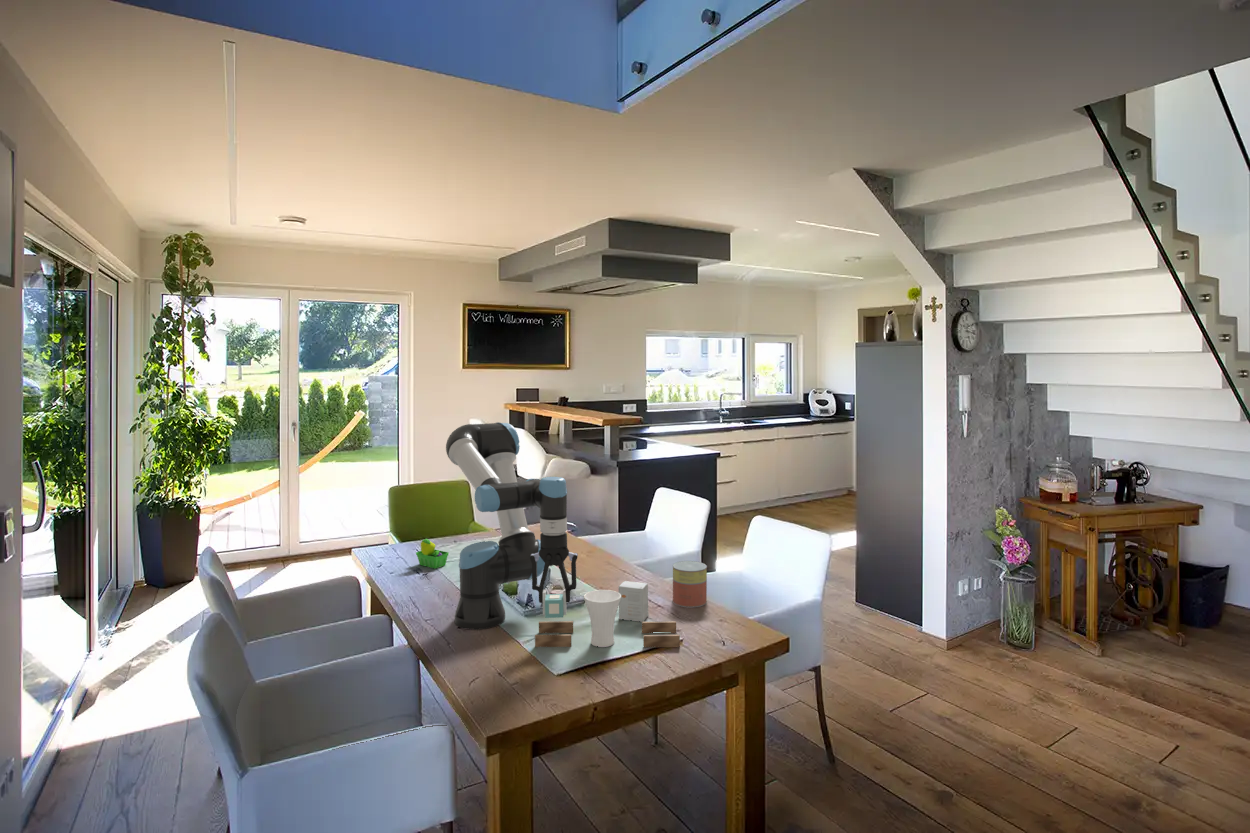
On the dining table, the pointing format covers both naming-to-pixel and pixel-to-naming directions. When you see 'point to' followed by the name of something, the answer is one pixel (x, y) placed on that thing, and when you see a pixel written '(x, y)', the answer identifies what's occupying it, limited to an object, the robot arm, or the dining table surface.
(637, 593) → the small box
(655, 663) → the dining table surface
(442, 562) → the fruit basket
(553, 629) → the caddy left
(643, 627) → the caddy right
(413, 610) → the dining table surface
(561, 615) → the letter cube
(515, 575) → the robot arm
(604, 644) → the cup
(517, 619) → the dining table surface
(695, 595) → the canned food
